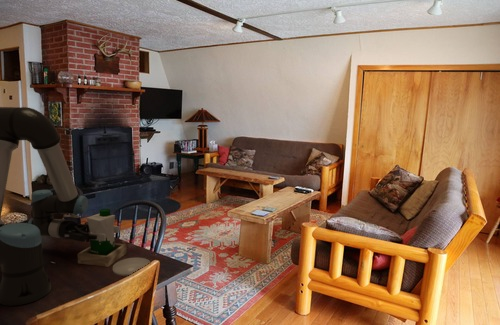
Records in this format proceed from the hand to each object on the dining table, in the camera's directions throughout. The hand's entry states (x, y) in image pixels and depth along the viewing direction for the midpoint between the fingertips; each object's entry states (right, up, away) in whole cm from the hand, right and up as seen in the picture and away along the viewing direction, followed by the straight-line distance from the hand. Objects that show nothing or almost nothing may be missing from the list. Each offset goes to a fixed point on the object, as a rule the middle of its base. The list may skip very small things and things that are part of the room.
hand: (112, 233), depth 145 cm
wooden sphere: (-48, -4, +39) cm, 62 cm away
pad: (+10, -12, -6) cm, 17 cm away
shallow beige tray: (-5, -11, +3) cm, 12 cm away
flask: (-31, -6, +30) cm, 43 cm away
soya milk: (-5, -11, +3) cm, 12 cm away
